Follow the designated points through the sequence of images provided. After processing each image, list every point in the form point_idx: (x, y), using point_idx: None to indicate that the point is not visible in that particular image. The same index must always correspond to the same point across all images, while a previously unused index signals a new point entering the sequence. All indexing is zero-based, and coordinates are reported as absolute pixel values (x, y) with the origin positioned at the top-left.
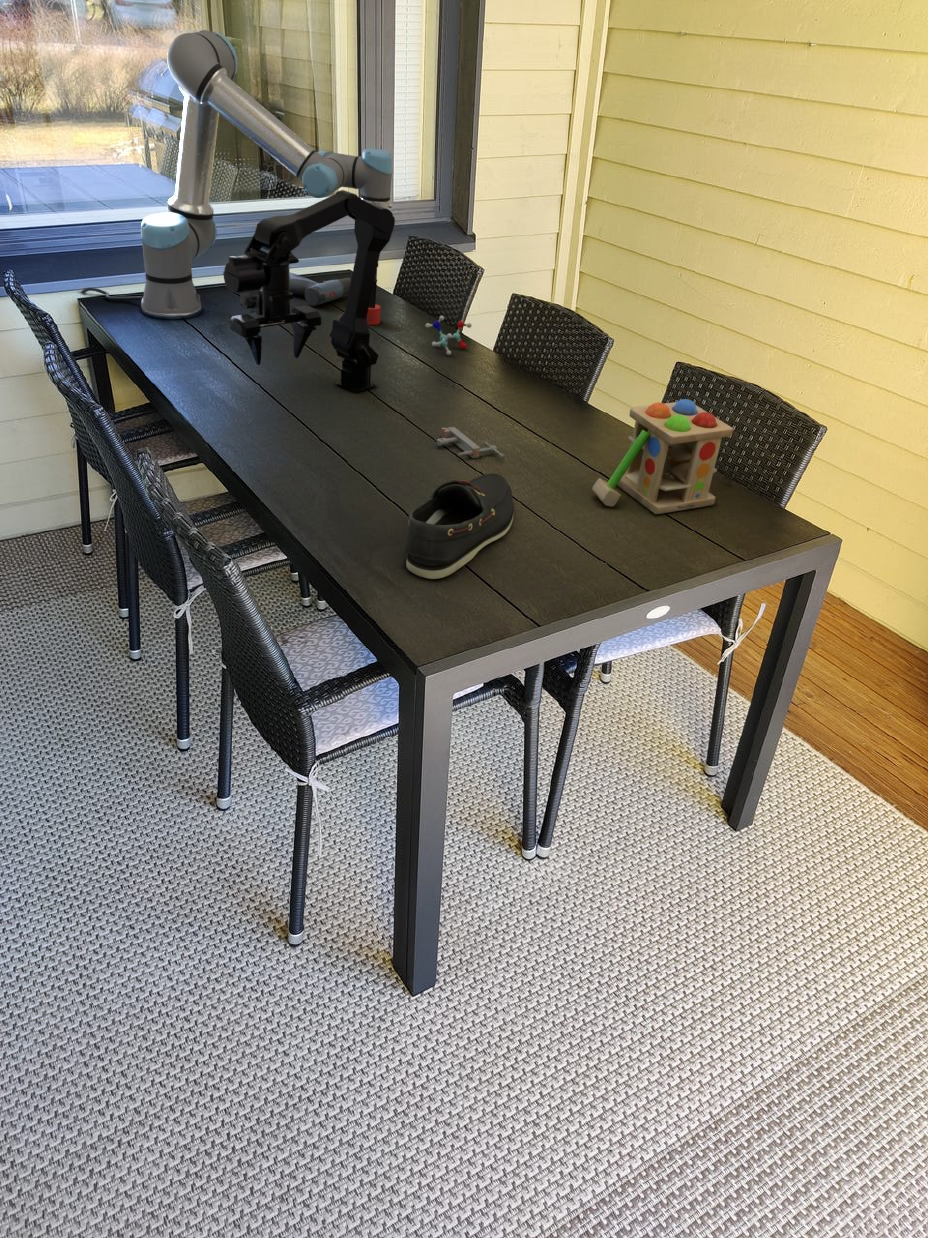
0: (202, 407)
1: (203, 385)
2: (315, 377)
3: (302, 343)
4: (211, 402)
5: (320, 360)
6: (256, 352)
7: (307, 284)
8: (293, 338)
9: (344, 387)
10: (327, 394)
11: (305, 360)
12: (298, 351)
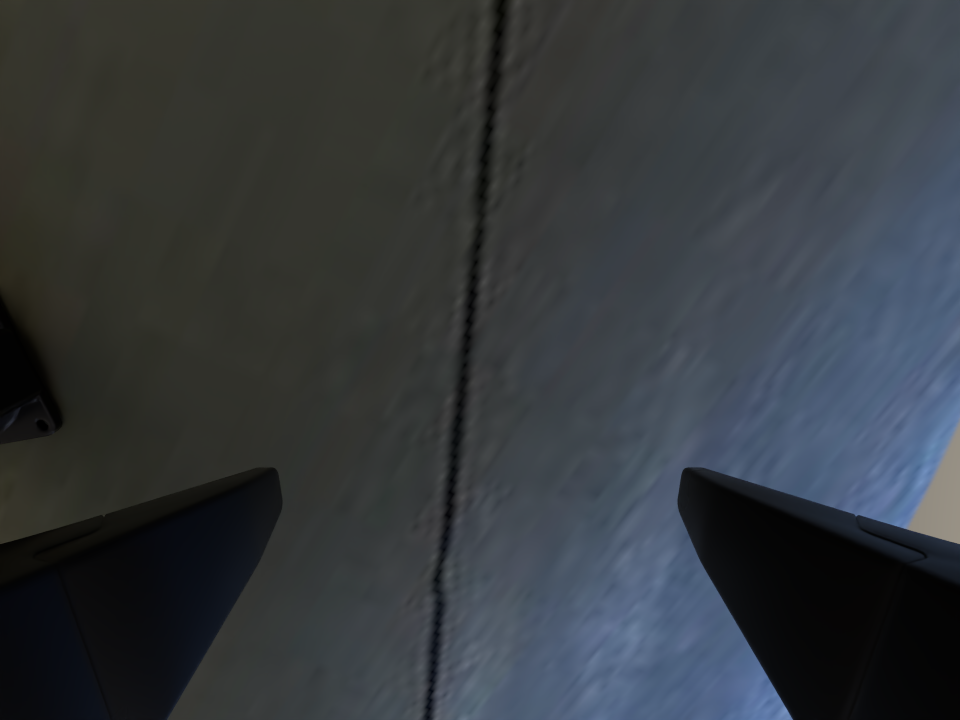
0: (820, 473)
1: (656, 659)
2: None
3: (129, 520)
4: None
5: None
6: (853, 519)
7: None
8: (188, 682)
9: (32, 370)
10: (163, 343)
11: None
12: (234, 485)
